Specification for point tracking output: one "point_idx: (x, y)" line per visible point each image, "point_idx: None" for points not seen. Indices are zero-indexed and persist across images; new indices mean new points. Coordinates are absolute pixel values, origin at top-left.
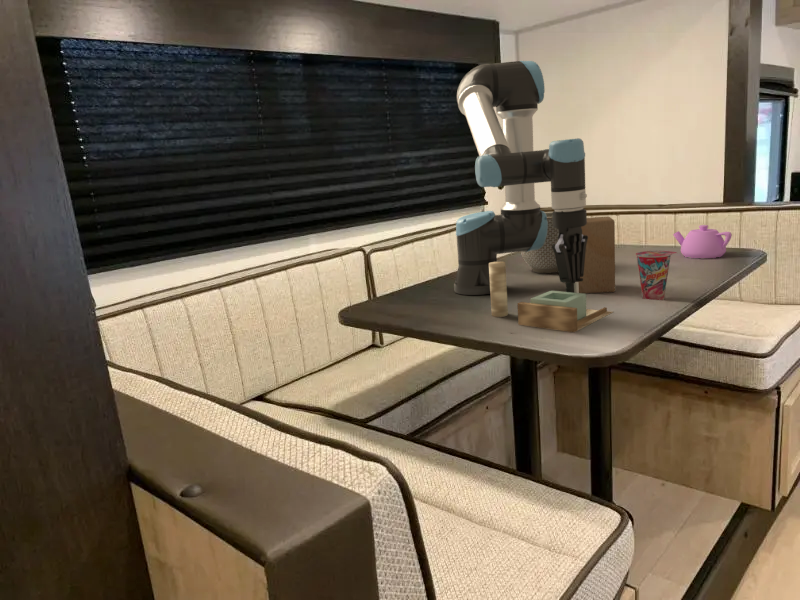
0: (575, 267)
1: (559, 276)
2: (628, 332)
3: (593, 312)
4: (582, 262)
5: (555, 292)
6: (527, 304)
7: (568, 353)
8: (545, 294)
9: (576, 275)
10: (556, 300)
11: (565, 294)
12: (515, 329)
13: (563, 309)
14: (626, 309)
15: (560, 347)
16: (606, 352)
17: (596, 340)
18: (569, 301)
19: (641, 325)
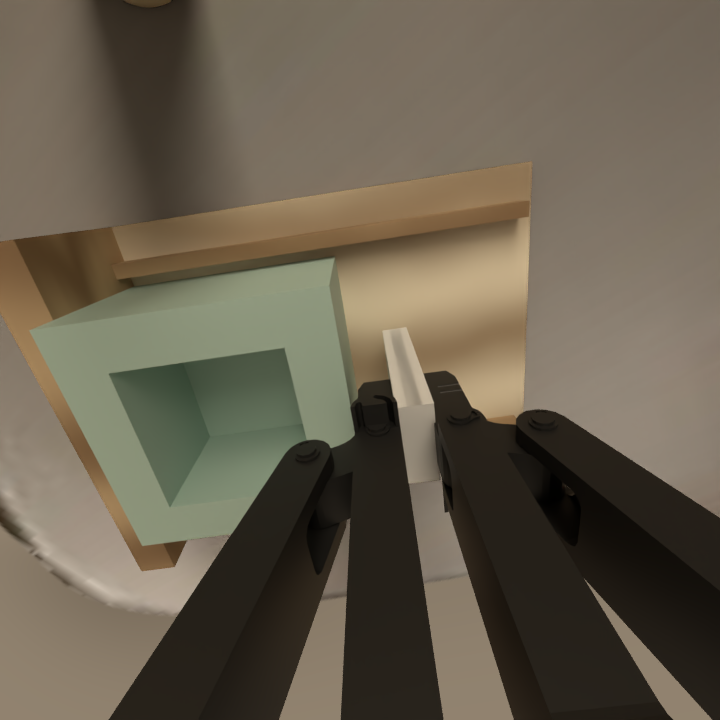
0: (472, 570)
1: (266, 485)
2: (347, 559)
3: (477, 389)
4: (615, 603)
5: (295, 357)
6: (10, 331)
7: (55, 552)
8: (203, 335)
9: (450, 508)
10: (133, 489)
11: (305, 427)
12: (70, 226)
13: (122, 528)
14: (634, 417)
15: (72, 509)
16: (149, 604)
17: (214, 541)
18: (179, 538)
19: (439, 549)
